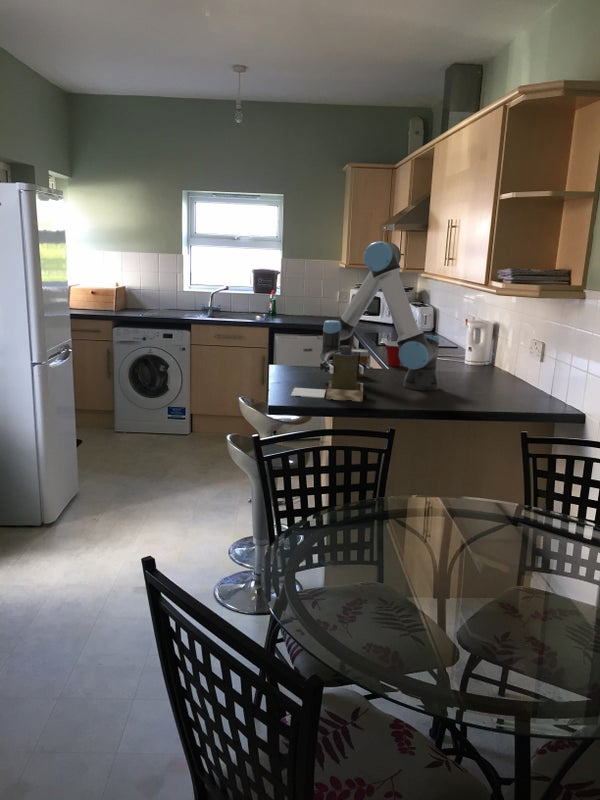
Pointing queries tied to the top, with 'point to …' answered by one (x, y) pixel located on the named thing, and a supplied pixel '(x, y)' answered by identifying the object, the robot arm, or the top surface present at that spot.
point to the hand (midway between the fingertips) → (347, 370)
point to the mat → (308, 392)
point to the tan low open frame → (345, 393)
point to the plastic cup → (393, 353)
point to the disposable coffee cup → (362, 357)
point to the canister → (345, 369)
